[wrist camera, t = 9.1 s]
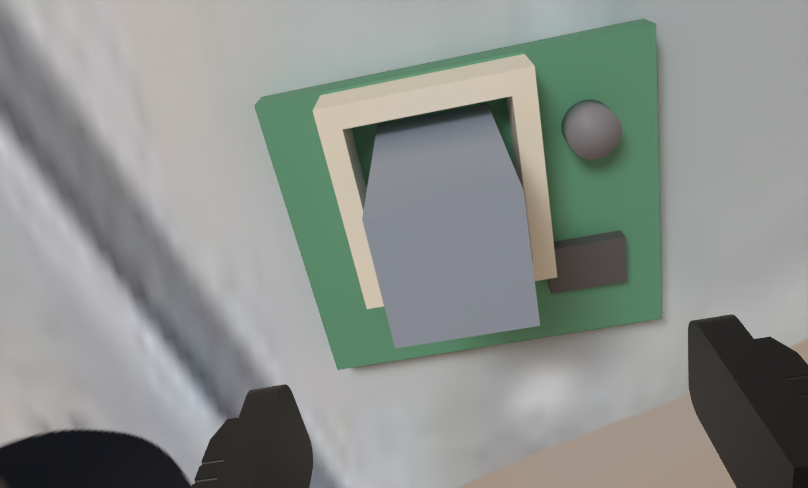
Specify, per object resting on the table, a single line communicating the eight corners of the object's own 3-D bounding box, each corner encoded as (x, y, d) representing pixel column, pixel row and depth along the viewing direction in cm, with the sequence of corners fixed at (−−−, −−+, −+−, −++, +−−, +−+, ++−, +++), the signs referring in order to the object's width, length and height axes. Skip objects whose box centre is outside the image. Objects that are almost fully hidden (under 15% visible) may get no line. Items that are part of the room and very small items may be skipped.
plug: (487, 103, 22) (523, 190, 15) (504, 224, 24) (543, 349, 17) (377, 125, 23) (362, 219, 16) (403, 241, 25) (400, 371, 18)
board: (644, 18, 22) (678, 33, 19) (652, 303, 27) (680, 347, 25) (261, 97, 24) (241, 122, 21) (340, 353, 29) (332, 400, 26)
